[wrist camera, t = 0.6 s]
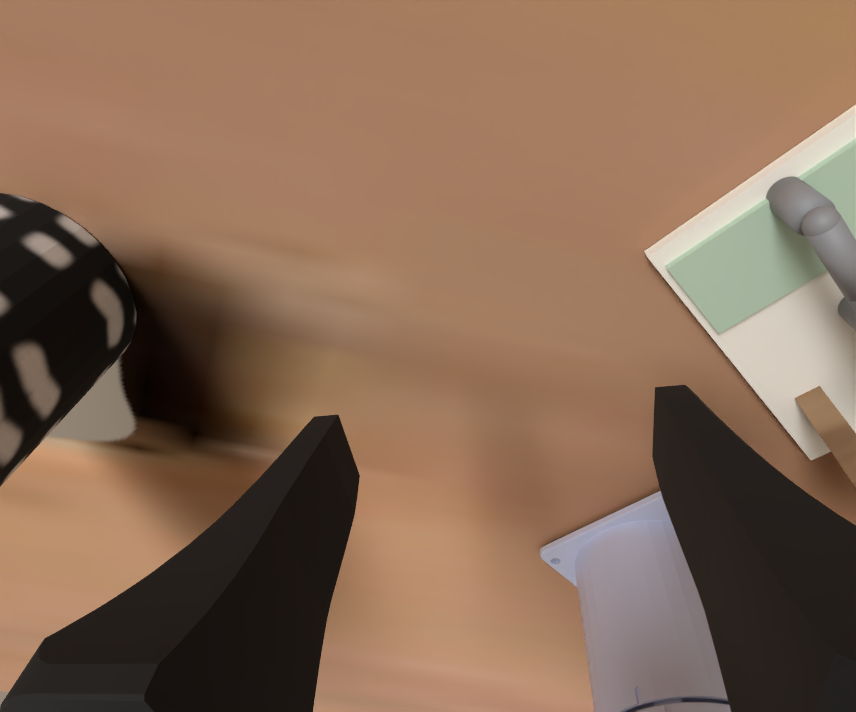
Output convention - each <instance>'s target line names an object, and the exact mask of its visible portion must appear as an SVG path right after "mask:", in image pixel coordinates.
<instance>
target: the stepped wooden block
mask: <svg viewBox="0 0 856 712" xmlns="http://www.w3.org/2000/svg"><path fill="white" fill-rule="evenodd" d="M795 400H796V401H797V403H798V404H799V406H800V407H801V408H802V410H803V411H804V413H805V414H806V416H807V417H808V419H809V420H810V422H811V423H812V425H813V426H814V427H815V429H816V430H817V432H818V433H819V435H820V436H821V438H822V439H823V441H824V442H825V444H826V445H827V447H828V448H829V449H830V451H831V452H832V454H833V455H834V457H835V458H836V460H837V461H838V463H839V464H840V466H841V467H842V468H843V470H844V471H845V473H846V474H847V476H848V477H849V479H850V480H851V482H852V483H853V485H854V486H855V487H856V433H855V432H854V430H853V429H852V428H851V426H850V425H849V424H848V422H847V421H846V420H845V418H844V417H843V416H842V415H841V413H840V412H839V411H838V409H837V408H836V407H835V405H834V404H833V403H832V401H831V400H830V399H829V397H828V396H827V395H826V394H825V392H824V391H823V390H822V388H821V387H820V386H818V387H816V388H814V389H812V390H810V391H808V392H806V393H804V394H802V395H800V396H798V397H796V398H795Z"/></svg>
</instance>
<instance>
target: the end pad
mask: <svg viewBox="0 0 856 712" xmlns="http://www.w3.org/2000/svg"><path fill="white" fill-rule="evenodd" d="M798 178H799V179H800V180H802V181H804V182H806V183H807V184H808V185H810V186H811V187H813V188H814V189H815V190H817V191H818V192H819V193H821V194H822V195H824V196H825V197H826V198H828V199H829V200H831V201H832V202H833V203H834V205H835V208H836V210H837V211H838V212H839V213H840V214H841V216H842V218H843V219H844V221H845V223H846V224H847V226H848V228H849V229H850V231H851V233H852V234H853V236H854V238H855V239H856V138H855V139H854V140H852V141H851V142H849V143H848V144H846V145H845V146H843V147H842V148H840V149H839V150H837V151H836V152H834V153H833V154H831V155H830V156H828V157H827V158H825V159H824V160H822V161H821V162H819V163H818V164H816V165H815V166H813V167H812V168H810V169H809V170H807V171H806V172H804V173H803V174H801V175H800V176H798ZM665 266H666V268H667V269H668V271H669V272H670V273H671V274H672V276H673V277H674V278H675V279H676V281H677V282H678V283H679V284H680V286H681V287H682V288H683V289H684V291H685V292H686V293H687V294H688V296H689V297H690V298H691V299H692V301H693V302H694V303H695V304H696V306H697V307H698V308H699V310H700V311H701V312H702V313H703V315H704V316H705V317H706V318H707V320H708V321H709V322H710V323H711V325H712V326H713V327H714V328H715V330H716V331H717V332H718V333H719V334H720V333H721V332H723V331H725V330H727V329H728V328H730V327H732V326H733V325H735V324H737V323H739V322H740V321H742V320H744V319H745V318H747V317H749V316H751V315H752V314H754V313H756V312H757V311H759V310H761V309H763V308H764V307H766V306H768V305H770V304H771V303H773V302H775V301H776V300H778V299H780V298H782V297H783V296H785V295H787V294H788V293H790V292H792V291H794V290H795V289H797V288H799V287H800V286H802V285H804V284H806V283H807V282H809V281H811V280H813V279H814V278H816V277H818V276H819V275H821V274H823V273H825V272H826V271H827V269H826V268H825V266H824V265H823V263H822V262H821V260H820V259H819V257H818V255H817V254H816V252H815V251H814V249H813V248H812V246H811V245H810V243H809V242H808V240H807V238H806V237H805V236H802V235H799V234H797V233H796V232H795V231H794V230H792V229H791V228H790V227H789V226H788V225H787V224H786V223H785V222H784V221H783V220H782V219H780V218H779V217H778V216H777V215H776V214H775V213H774V212H773V211H772V210H771V208H770V205H769V201H768V200H767V199H764V200H763V201H761V202H760V203H758V204H757V205H755V206H754V207H752V208H751V209H749V210H748V211H746V212H745V213H743V214H742V215H740V216H739V217H737V218H736V219H734V220H733V221H731V222H730V223H728V224H727V225H725V226H724V227H722V228H721V229H719V230H718V231H716V232H715V233H713V234H712V235H710V236H709V237H707V238H706V239H704V240H703V241H701V242H700V243H698V244H697V245H695V246H694V247H692V248H691V249H689V250H688V251H686V252H685V253H683V254H682V255H680V256H679V257H677V258H676V259H674V260H673V261H671V262H670V263H668V264H667V265H665Z"/></svg>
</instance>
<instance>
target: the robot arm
mask: <svg viewBox="0 0 856 712" xmlns="http://www.w3.org/2000/svg"><path fill="white" fill-rule="evenodd" d="M652 457H653V461H654V465H655V469H656V474H657V478H658V482H659V486H660V490H661V491H659V492H657V493H654V494H652V495H650V496H648V497H646V498H644V499H642V500H640V501H638V502H635V503H633V504H631V505H629V506H627V507H625V508H623V509H621V510H619V511H617V512H614V513H612V514H610V515H608V516H606V517H604V518H602V519H600V520H598V521H595V522H593V523H591V524H589V525H587V526H585V527H583V528H581V529H579V530H577V531H574V532H572V533H570V534H568V535H566V536H564V537H562V538H560V539H558V540H555V541H553V542H551V543H549V544H547V545H545V546H543V547H542V548H541V549H540V557H541V559H542V560H544V561H545V562H546V563H547V564H548V565H550V566H551V567H552V568H553V569H555V570H556V571H557V572H558V573H560V574H561V575H562V576H563V577H565V578H566V579H567V580H568V581H570V582H571V583H572V584H573V585H575V586H576V587H577V588H578V595H579V602H580V610H581V617H582V624H583V632H584V639H585V646H586V653H587V661H588V668H589V675H590V683H591V690H592V697H593V705H594V712H856V526H855V525H854V524H852V523H851V522H849V521H847V520H846V519H844V518H843V517H841V516H840V515H838V514H837V513H835V512H834V511H832V510H831V509H829V508H828V507H826V506H825V505H823V504H822V503H821V502H819V501H818V500H816V499H815V498H813V497H812V496H810V495H809V494H808V493H806V492H805V491H804V490H802V489H801V488H800V487H798V486H797V485H796V484H794V483H793V482H792V481H790V480H789V479H788V478H787V477H785V476H784V475H783V474H782V473H780V472H779V471H778V470H777V469H775V468H774V467H773V466H772V465H770V464H769V463H768V462H767V461H766V460H765V459H763V458H762V457H761V456H760V455H759V454H757V453H756V452H755V451H754V450H753V449H752V448H751V447H750V446H749V445H747V444H746V443H745V442H744V441H743V440H742V439H741V438H740V437H738V436H737V435H736V434H735V433H734V432H733V431H732V430H731V429H730V428H729V427H728V426H727V425H726V424H725V423H724V422H723V421H722V420H720V419H719V418H718V417H717V416H716V415H715V414H714V413H713V412H712V411H711V410H710V409H709V408H708V407H707V406H706V405H705V404H704V403H703V402H702V401H701V400H700V399H699V398H698V396H697V395H696V394H695V393H694V392H693V391H692V390H691V389H690V388H688V387H687V386H686V385H678V386H666V387H655V405H654V430H653V456H652ZM359 477H360V475H359V472H358V470H357V467H356V464H355V461H354V458H353V455H352V452H351V450H350V447H349V444H348V441H347V438H346V435H345V433H344V430H343V427H342V424H341V421H340V418H339V415H330V416H318V417H314V418H313V419H312V420H311V421H310V422H309V423H308V424H307V425H306V426H305V427H304V429H303V430H302V431H301V432H300V433H299V434H298V435H297V437H296V438H295V439H294V440H293V441H292V442H291V444H290V445H289V446H288V447H287V448H286V449H285V450H284V452H283V453H282V454H281V455H280V456H279V457H278V458H277V459H276V460H275V462H274V463H273V464H272V465H271V466H270V467H269V468H268V469H267V471H266V472H265V473H264V474H263V475H262V476H261V477H260V478H259V479H258V480H257V481H256V482H255V483H254V484H253V485H252V486H251V487H250V488H249V489H248V490H247V491H246V492H245V493H244V495H243V496H242V497H241V498H240V499H239V500H238V501H237V502H236V503H235V504H234V505H233V506H232V507H231V508H230V509H229V510H228V511H227V512H225V513H224V514H223V515H222V516H221V517H220V518H219V519H218V520H217V521H216V522H215V523H214V524H212V525H211V526H210V527H209V528H208V529H207V530H205V531H204V532H203V533H202V534H201V535H200V536H198V537H197V538H196V539H195V540H194V541H193V542H191V543H190V544H189V545H188V546H186V547H185V548H184V549H182V550H181V551H180V552H178V553H177V554H176V555H174V556H173V557H172V558H171V559H169V560H168V561H167V562H165V563H164V564H163V565H161V566H160V567H159V568H157V569H156V570H155V571H153V572H152V573H151V574H149V575H148V576H146V577H145V578H144V579H142V580H141V581H139V582H138V583H136V584H135V585H133V586H132V587H130V588H129V589H127V590H126V591H124V592H123V593H121V594H120V595H118V596H117V597H115V598H113V599H112V600H110V601H109V602H107V603H106V604H104V605H102V606H101V607H99V608H97V609H96V610H94V611H92V612H91V613H89V614H87V615H85V616H84V617H82V618H80V619H79V620H77V621H75V622H73V623H72V624H70V625H68V626H66V627H65V628H63V629H61V630H59V631H58V632H56V633H54V634H52V635H50V636H49V637H47V638H45V639H44V640H43V642H42V643H41V645H40V646H39V648H38V649H37V651H36V652H35V654H34V655H33V657H32V658H31V660H30V661H29V663H28V664H27V666H26V667H25V669H24V670H23V672H22V673H21V675H20V677H19V678H18V680H17V681H16V683H15V684H14V686H13V687H12V689H11V690H10V692H9V693H8V695H7V696H6V698H5V699H4V701H3V702H2V704H1V707H0V712H313V706H314V698H315V691H316V684H317V677H318V671H319V664H320V657H321V651H322V645H323V639H324V633H325V627H326V621H327V616H328V612H329V608H330V603H331V599H332V596H333V592H334V588H335V585H336V581H337V577H338V574H339V570H340V567H341V563H342V559H343V556H344V552H345V549H346V545H347V541H348V537H349V534H350V530H351V526H352V522H353V518H354V514H355V508H356V501H357V494H358V485H359Z"/></svg>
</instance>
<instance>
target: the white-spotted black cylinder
mask: <svg viewBox="0 0 856 712" xmlns="http://www.w3.org/2000/svg"><path fill="white" fill-rule="evenodd" d="M135 329H136V308H135V303H134V298H133V294H132V292H131V289H130V287H129V285H128V282H127V280H126V278H125V276H124V274H123V273H122V271H121V270H120V268H119V266H118V265H117V263H116V262H115V260H114V259H113V258H112V257H111V255H110V254H109V253H108V252H107V251H106V250H105V248H104V247H103V246H102V245H101V244H100V243H99V242H98V241H97V240H96V239H95V238H94V237H93V236H91V235H90V234H89V233H88V232H87V231H86V230H85V229H84V228H83V227H81V226H80V225H78V224H77V223H75V222H74V221H72V220H71V219H69V218H68V217H66V216H65V215H63V214H62V213H60V212H58V211H56V210H54V209H52V208H50V207H48V206H46V205H44V204H42V203H39V202H36V201H33V200H30V199H27V198H24V197H21V196H16V195H9V194H3V193H0V486H1V485H2V484H3V483H4V482H5V481H6V480H7V479H8V478H9V477H10V475H11V474H12V473H13V472H14V471H15V470H16V469H17V468H18V467H19V466H20V465H21V464H22V462H23V461H24V460H25V459H26V458H27V457H28V456H29V455H30V454H31V453H32V452H33V450H34V449H35V448H36V447H37V446H38V445H39V444H40V443H41V442H42V441H43V440H44V439H45V437H46V436H47V435H48V434H49V433H50V432H51V431H52V430H53V429H54V427H55V426H56V425H57V424H58V423H59V422H60V421H61V420H62V419H63V418H64V417H65V416H66V415H67V413H68V412H69V411H70V410H71V409H72V408H73V407H74V406H75V405H76V404H77V403H78V402H79V401H80V399H81V398H82V397H83V396H84V395H85V394H86V393H87V391H89V390H90V389H91V387H92V386H93V385H94V384H95V383H96V382H97V381H98V380H99V379H100V378H101V377H102V376H103V374H104V373H105V372H106V371H107V370H108V369H109V368H110V367H111V366H112V365H113V364H114V363H115V361H116V360H117V359H118V358H119V357H120V356H121V355H122V354H123V353H124V352H125V350H126V349H127V347H128V346H129V344H130V343H131V341H132V339H133V336H134V332H135Z"/></svg>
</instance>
